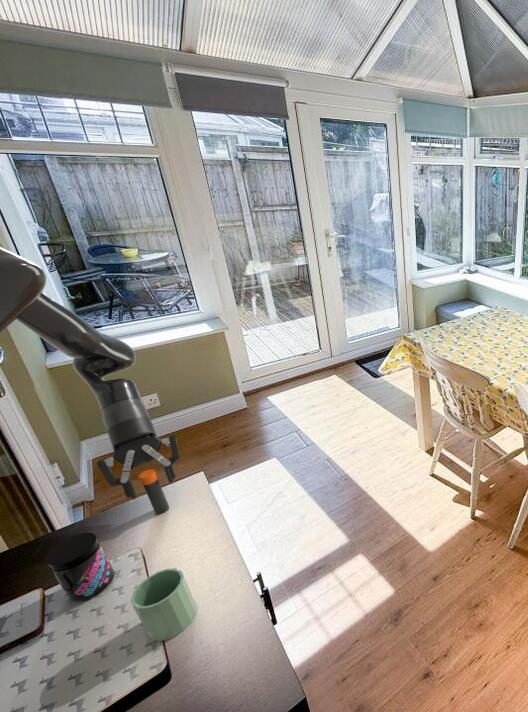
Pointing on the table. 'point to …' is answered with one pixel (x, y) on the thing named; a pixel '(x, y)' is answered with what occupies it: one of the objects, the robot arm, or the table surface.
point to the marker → (154, 491)
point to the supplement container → (80, 566)
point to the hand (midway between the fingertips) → (153, 490)
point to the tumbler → (164, 604)
